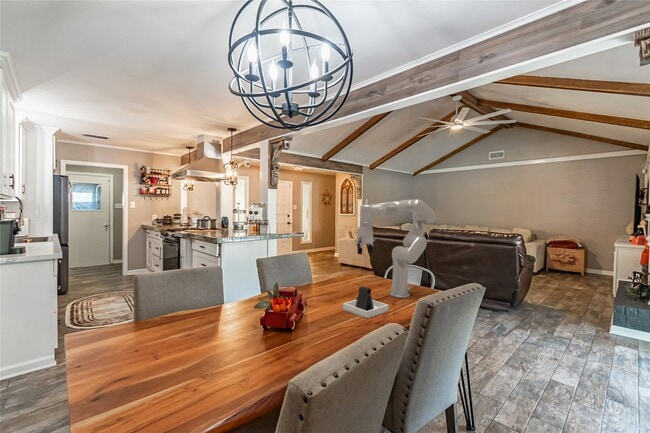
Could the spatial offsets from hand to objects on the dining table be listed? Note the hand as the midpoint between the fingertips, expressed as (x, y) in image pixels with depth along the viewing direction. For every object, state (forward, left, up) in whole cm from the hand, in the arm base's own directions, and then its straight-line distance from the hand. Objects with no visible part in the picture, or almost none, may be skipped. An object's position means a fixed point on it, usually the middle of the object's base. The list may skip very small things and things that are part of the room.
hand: (365, 253), depth 183 cm
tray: (+14, +14, -28) cm, 34 cm away
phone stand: (+15, +13, -28) cm, 34 cm away
